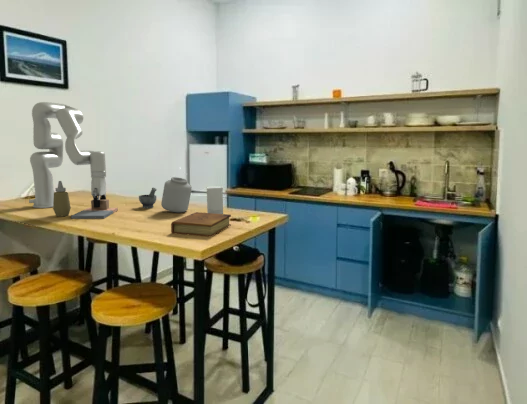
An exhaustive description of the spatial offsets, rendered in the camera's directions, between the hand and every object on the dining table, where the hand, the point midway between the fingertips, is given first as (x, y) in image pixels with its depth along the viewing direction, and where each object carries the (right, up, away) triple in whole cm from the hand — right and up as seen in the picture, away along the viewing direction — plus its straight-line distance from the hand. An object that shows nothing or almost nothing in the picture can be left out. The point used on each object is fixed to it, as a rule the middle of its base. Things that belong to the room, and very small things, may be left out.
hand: (100, 205), depth 212 cm
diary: (+62, -11, -36) cm, 72 cm away
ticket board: (+1, -5, -11) cm, 12 cm away
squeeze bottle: (-15, -5, -11) cm, 19 cm away
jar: (+42, -4, +4) cm, 42 cm away
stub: (0, -3, +1) cm, 3 cm away
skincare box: (+64, -6, -7) cm, 64 cm away
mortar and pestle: (+22, -1, +16) cm, 27 cm away
